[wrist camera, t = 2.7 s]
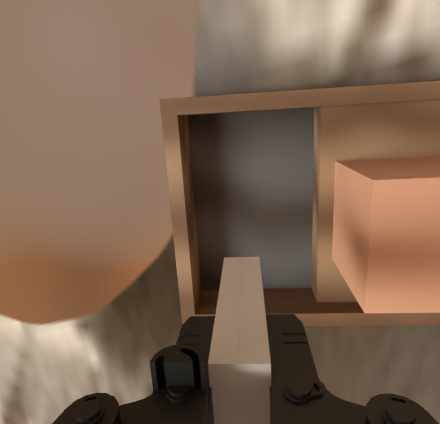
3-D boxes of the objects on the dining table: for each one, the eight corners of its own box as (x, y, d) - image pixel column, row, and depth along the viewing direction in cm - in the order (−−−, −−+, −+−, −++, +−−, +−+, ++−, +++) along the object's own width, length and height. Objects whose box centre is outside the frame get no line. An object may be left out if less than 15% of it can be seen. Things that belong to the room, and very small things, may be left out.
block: (335, 160, 22) (373, 180, 16) (446, 155, 22) (535, 173, 15) (332, 258, 24) (364, 313, 18) (434, 256, 24) (508, 312, 17)
